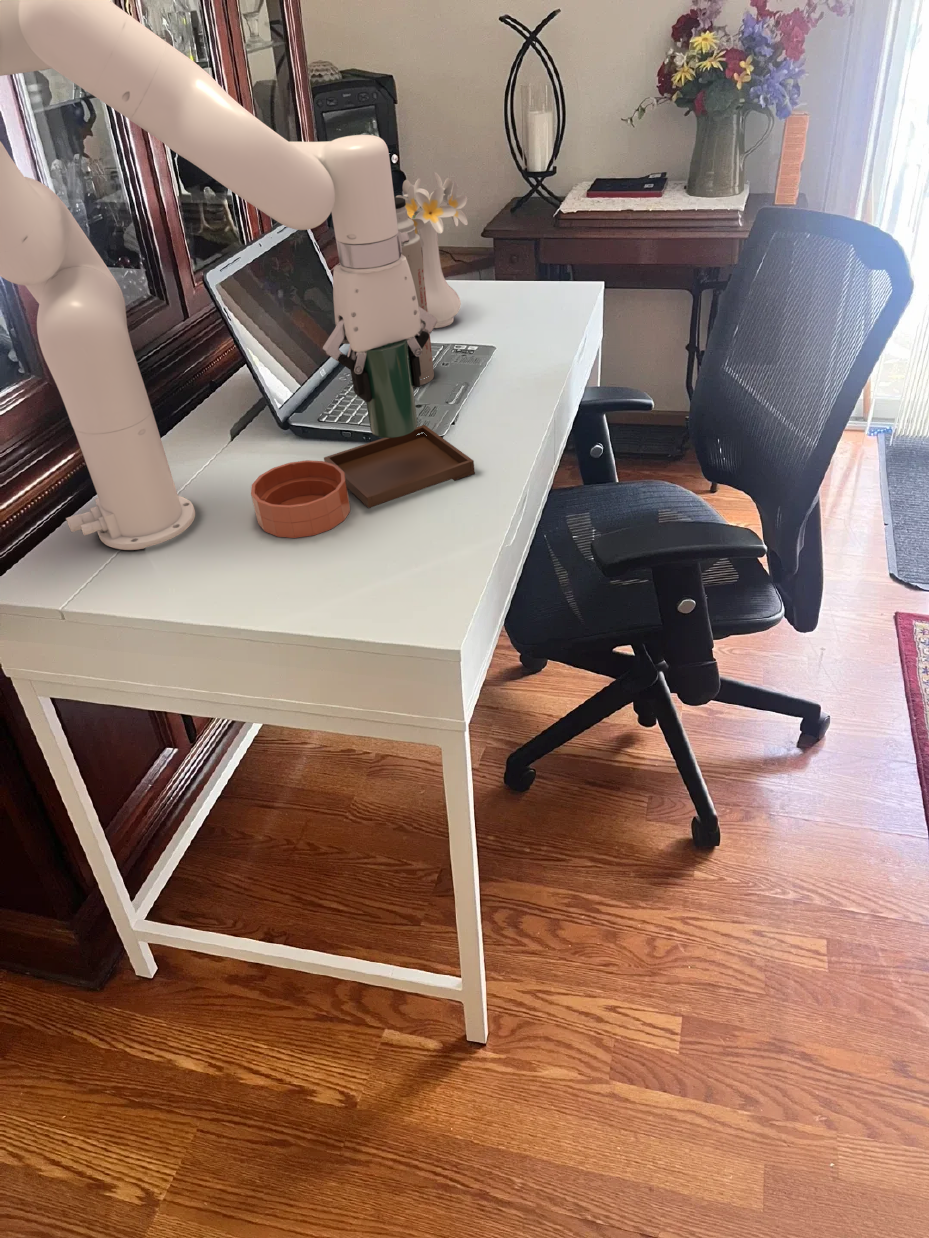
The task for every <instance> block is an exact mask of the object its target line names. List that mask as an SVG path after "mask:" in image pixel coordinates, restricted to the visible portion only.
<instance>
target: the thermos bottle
mask: <svg viewBox="0 0 929 1238" xmlns="http://www.w3.org/2000/svg"><path fill="white" fill-rule="evenodd" d="M404 198H405V197H404ZM404 198H400V197H396V196H394V200H395V209H396V216H397V225H398V231H400V232H401V233H404V232H407V234H408V236H409V243H408V244H404V246H402V253H401V254H402V255H403V256H405V257H406V260H407V262H408V265H409V268H410V271H411V275H412V278H413V282H414V286H415V290H416V295H417V300H418V306H419V307H421V308H422V309H424V310H425V311H427V301H426V291H425V281H424V271H423V254H422V247H421V242H420V236H419V235H417V234H415V226H414V222H413V220H411V219H409V218H408V216H407V209H406V208H405V205H406V201H405V199H404ZM427 312H428V311H427ZM420 322H421V320H420ZM432 351H433V350H432V342H431V333H430V334H429V339H428V340H427V342H426V344H425V345H424V347H423V348H422V354H421V356H419V360H420V368H421V377H419V378H420V379H422V380H420V386H424V385H426V384H428V383H430V382H431V381H432V380H433V379H434V377H435V370H434V361H433V360H434V359H433V352H432ZM428 376H429V377H428ZM426 377H427V378H426ZM423 378H425V379H423ZM420 386H419V387H420ZM413 388H415V387H414V386H413Z"/></svg>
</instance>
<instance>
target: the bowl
mask: <svg viewBox="0 0 929 1238" xmlns="http://www.w3.org/2000/svg"><path fill="white" fill-rule="evenodd" d="M348 491H349V489H348V488H347V484H346V479H345V473H344V472H343V471H342V470H341V469H340V468H339V467H338V466H337V465H334V464H331V463H328V462H325V461H324V460H310V459H309V460H308V459H307V460H298V461H293V462H287V463H284V464H280V465H278V466H275V467H272V468H270V469H269V470H267V471H265V472H263V473H262V474H260V475H258V477H257V478H256V479H255V480H254V481H253V483H252V484H251V487H250V496H251V501H252V504H253V509H254V513H255V517H256V520H257V524H258V525H259V527H260V528H261V529H262V530H263V531H264V532H265V533H267V534H270V535H272V536H275V537H277V538H286V539H287V538H288V539H289V538H290V539H297V538H304V537H312V536H317V535H319V534H321V533H322V534H323V533H325V532H328V531H330V530H332V529H334V528H336V527H337V526H338V525H339V524H341V523H343V522H344V521H345V520H346V518H347V517H348V516H349V514H350V513H351V504H350V503H351V502H350V496H349V492H348Z"/></svg>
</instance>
